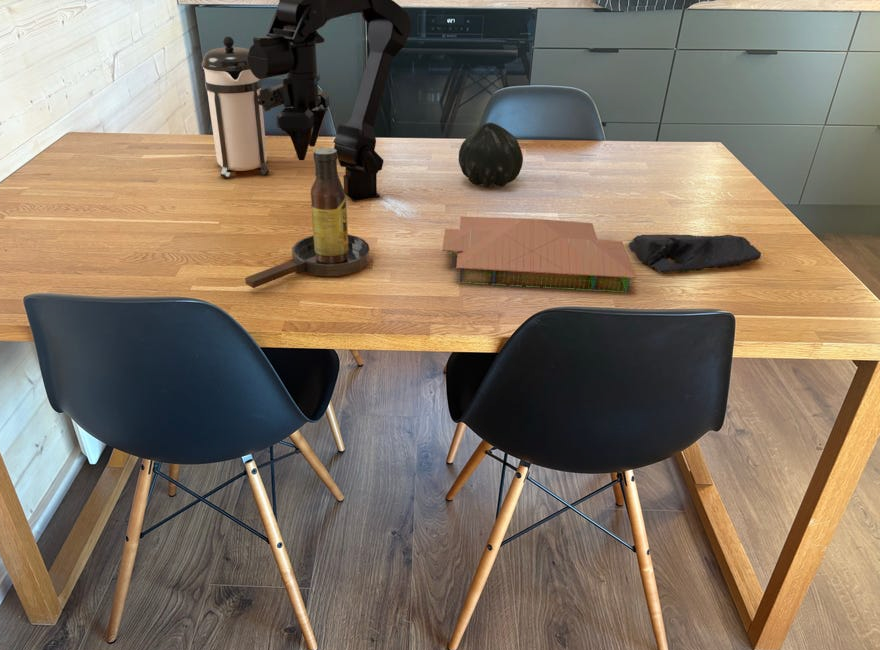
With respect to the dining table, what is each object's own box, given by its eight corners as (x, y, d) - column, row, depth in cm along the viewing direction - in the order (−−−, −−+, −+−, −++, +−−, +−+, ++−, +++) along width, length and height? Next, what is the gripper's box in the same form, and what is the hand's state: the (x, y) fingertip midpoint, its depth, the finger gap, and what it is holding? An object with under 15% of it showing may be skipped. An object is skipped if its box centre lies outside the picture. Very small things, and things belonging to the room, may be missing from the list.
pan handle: (296, 266, 125) (295, 257, 124) (305, 271, 124) (305, 262, 123) (245, 286, 119) (244, 277, 118) (254, 292, 117) (253, 282, 116)
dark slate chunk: (769, 272, 126) (778, 248, 124) (652, 276, 125) (658, 252, 122) (729, 238, 139) (736, 215, 137) (622, 241, 137) (626, 218, 135)
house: (445, 231, 141) (447, 192, 136) (612, 239, 138) (620, 200, 134) (439, 283, 122) (441, 240, 117) (632, 294, 119) (642, 250, 115)
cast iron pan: (352, 240, 137) (352, 228, 135) (381, 269, 126) (381, 256, 125) (283, 252, 132) (282, 240, 130) (307, 284, 121) (306, 271, 120)
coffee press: (289, 166, 174) (279, 34, 157) (245, 184, 162) (228, 44, 146) (237, 153, 181) (222, 27, 165) (191, 170, 170) (170, 36, 153)
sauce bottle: (352, 263, 127) (349, 155, 116) (319, 268, 126) (312, 158, 115) (343, 249, 132) (339, 143, 121) (310, 253, 131) (303, 147, 120)
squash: (515, 146, 171) (481, 102, 162) (543, 167, 159) (509, 121, 150) (472, 187, 174) (436, 146, 164) (497, 211, 162) (461, 168, 153)
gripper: (273, 59, 140) (280, 138, 149) (245, 79, 125) (254, 165, 134) (327, 61, 139) (331, 140, 148) (306, 82, 124) (311, 168, 133)
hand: (307, 153), depth 141 cm, fingers open, 9 cm apart
